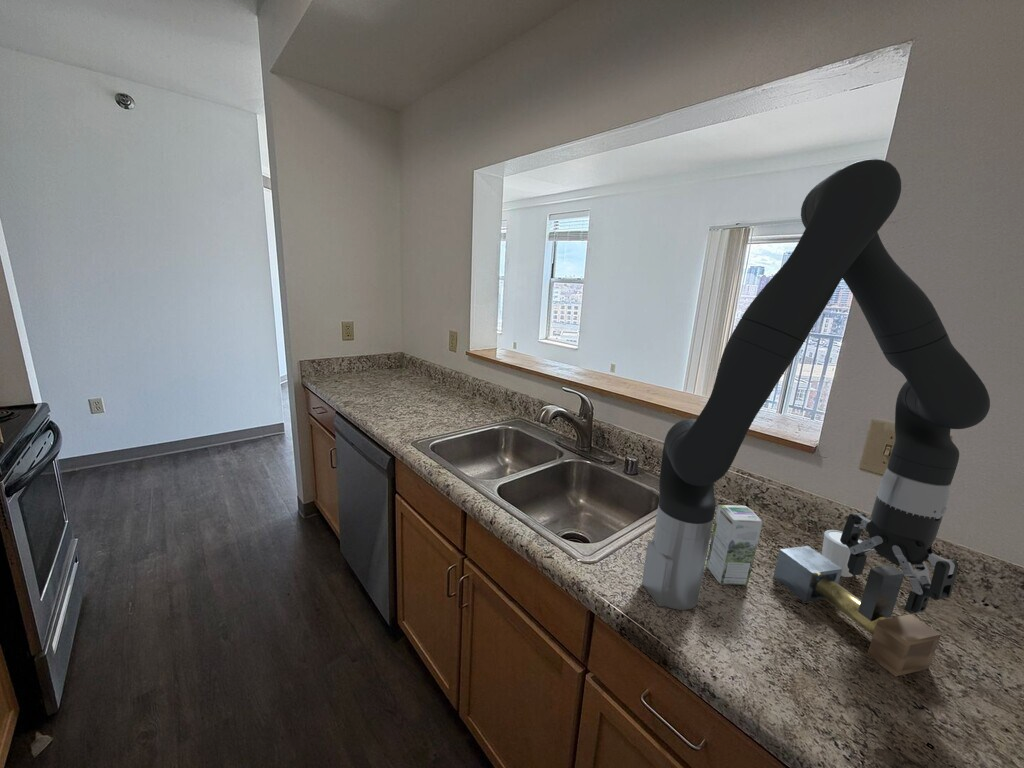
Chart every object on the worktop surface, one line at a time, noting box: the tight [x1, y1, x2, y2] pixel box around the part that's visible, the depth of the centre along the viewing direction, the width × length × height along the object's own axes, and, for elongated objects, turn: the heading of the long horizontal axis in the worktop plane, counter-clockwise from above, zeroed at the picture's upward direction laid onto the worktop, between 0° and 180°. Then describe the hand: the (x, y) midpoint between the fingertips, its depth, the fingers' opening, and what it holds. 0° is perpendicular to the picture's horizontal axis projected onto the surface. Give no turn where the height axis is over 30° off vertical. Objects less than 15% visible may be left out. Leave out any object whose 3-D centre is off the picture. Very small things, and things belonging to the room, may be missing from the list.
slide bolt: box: [816, 564, 905, 636], centre depth 69 cm, size 13×4×12 cm, turn 14°
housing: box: [773, 545, 842, 604], centre depth 79 cm, size 7×7×6 cm
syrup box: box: [705, 504, 764, 586], centre depth 80 cm, size 6×6×14 cm
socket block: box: [866, 613, 942, 677], centre depth 64 cm, size 4×7×6 cm, turn 104°
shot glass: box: [821, 529, 864, 578], centre depth 86 cm, size 7×7×7 cm
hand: (881, 591), depth 67 cm, fingers open, 8 cm apart
